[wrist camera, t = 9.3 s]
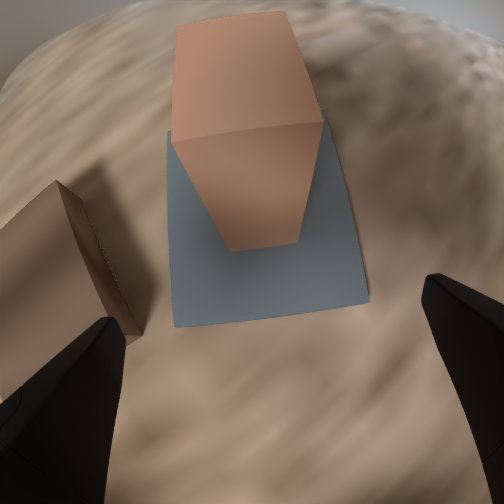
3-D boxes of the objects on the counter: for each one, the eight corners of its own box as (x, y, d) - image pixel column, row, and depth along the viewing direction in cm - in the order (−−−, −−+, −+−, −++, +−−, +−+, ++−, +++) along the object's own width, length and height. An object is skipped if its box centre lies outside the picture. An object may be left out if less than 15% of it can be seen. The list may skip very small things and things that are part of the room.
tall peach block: (297, 243, 16) (323, 121, 7) (229, 252, 16) (171, 142, 7) (282, 159, 18) (284, 10, 8) (221, 167, 18) (176, 25, 8)
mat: (366, 302, 16) (369, 301, 15) (177, 327, 16) (174, 327, 16) (322, 114, 19) (323, 110, 18) (169, 135, 19) (167, 131, 19)
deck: (142, 335, 16) (117, 334, 13) (35, 402, 15) (5, 407, 12) (80, 198, 19) (56, 179, 16) (-8, 276, 18) (-35, 268, 15)
